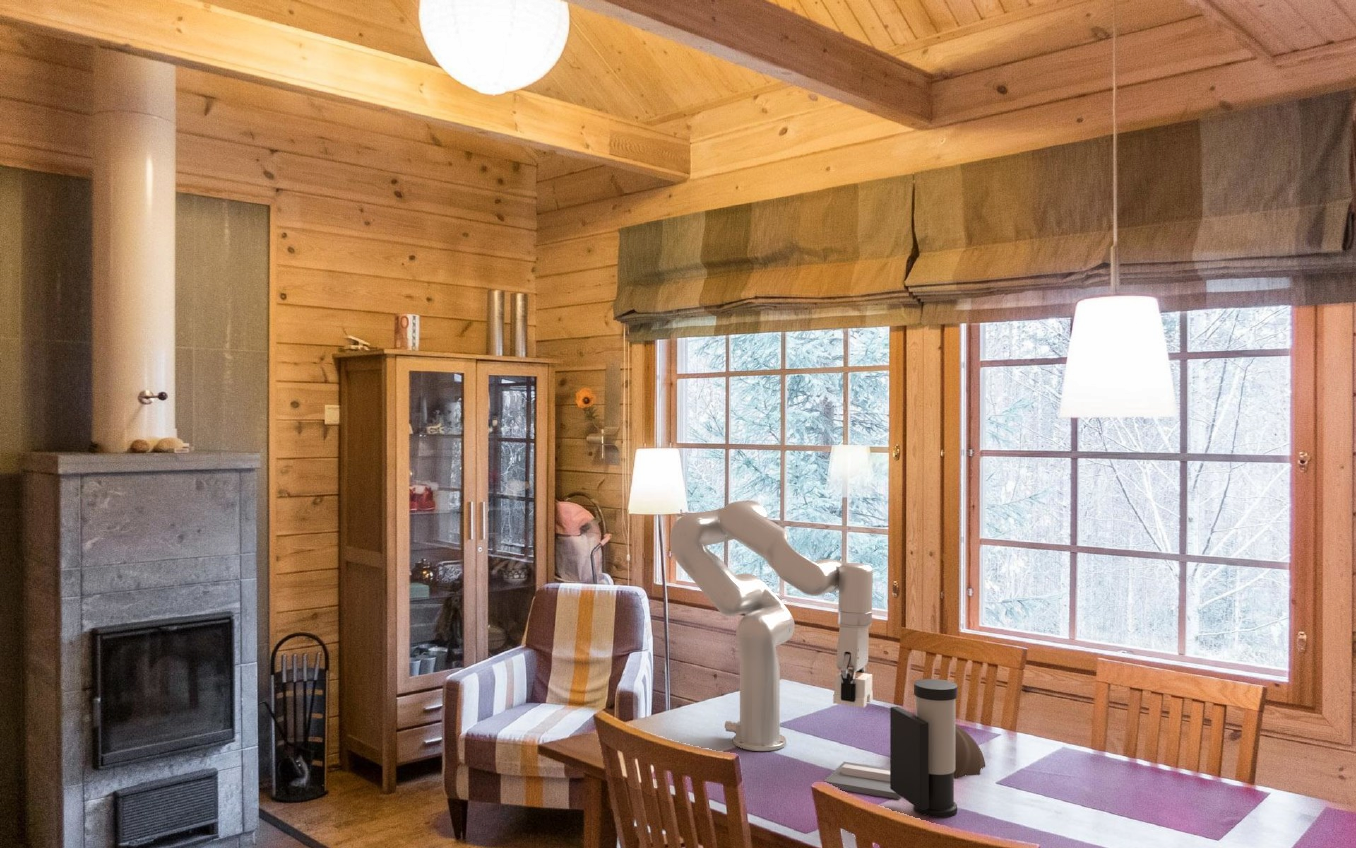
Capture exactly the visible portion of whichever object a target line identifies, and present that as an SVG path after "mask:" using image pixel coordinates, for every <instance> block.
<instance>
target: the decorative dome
mask: <svg viewBox="0 0 1356 848" xmlns="http://www.w3.org/2000/svg"><path fill="white" fill-rule="evenodd" d="M985 766H986V762H985V757H984V755H983V752H982V750H981V748H980V746H979V745H978V743H977V742H976V741H975V739H974V738H973V737H972V736H971V735H970V734H969V733H968V732H967V731H966V730H965V729H964V728H962V727H961V726H959V725H958V724H956V723H955V771H954V779H960V778H963V777H965V775H966V776H979V775H981V770H982V769H983V768H982V767H984V768H986V767H985ZM981 768H982V769H981ZM959 777H960V778H959Z"/></svg>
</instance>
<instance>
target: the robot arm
mask: <svg viewBox="0 0 1356 848" xmlns="http://www.w3.org/2000/svg"><path fill="white" fill-rule="evenodd" d="M732 540H735V541H737V542H738V543H740V544H741V545H743V546H745V548H747V549H749V550H751V551H752V552H754V553H755V554H756V555H758V556H760V557H761V558H763V559H764V560H765V561H766V562H767V565H768V566H769V567H770V568H771V569H772V571H773V572H774V573H775V574H776V575H777V576H778V578H780V579H781V580H783V581H784V582H786V583H787V584H788V585H790V586H792V587H793V588H795V589H796V590H798V591H799V592H802V593H803V594H805V595H808V596H812V597H818V596H822V595H823V594H829V593H831V592H836V591H838V607H837V608H838V610H837V613H838V615H837V624H838V626H839V631H838V637H837V650H836V651H837V652H836V663H835V664H836V665H835V666H836V669H837V670H839V671H840V672H841V700H843V701H850V702H854V701H855V693H856V684H854V680H855V674H856V672H859V673H866V674H867V669H866V666H867V664H868V662H869V655H870V654H869V651H870V648H869V646H870V645H869V643H870V639H869V635H870V634H869V628H870V627H872V625H873V619H872V618H873V586H874V585H873V583H874V582H873V581H874V578H873V577H874V574H873V573H874V572H873V568H872V566H870V565H869V564H867V563H862V562H861V563H860V562H845V561H842V560H839V559H833V558H824V559H819V560H816V561H812V560H810V559H809V558H808V557H806V556H804V555H802V554H800V553H799V552H798V551H796V550H795V549H794V548H793V547H792V546H791V545H790V544H789V541H788V533H787V530H786V529H785V528H783V527H782V526H780V525H779V524H777V523H776V522H774V521H772V520H771V519H769V518H768V513H767V510H766V508H765V507H764V506H763V505H762V504H761V503H759V502H757V501H756V500H752V499H751V500H749V499H748V500H739V501H734V502H730V503H728V504H727V505H725V506H724V507H721V508H717V509H713V510H706V511H700V512H699V511H698V512H692V513H688V514H685V515H682V516H680V517H679V518H678V519H677V520H676V521H675V522H674V523H673V526H672V528H671V531H670V536H669V541H670V542H669V545H670V549H671V553H672V555H673V557H674V559H675V560H676V562H677V564H678V565H679V566H680V568H681V569H682V570H683V571H684V572H685V574H687V575H688V576H689V577H690V579H691V580H693V582H694V583H695V584H696V586H698V588H699V589H700V590H701V591H702V593H703V594H704V595H705V596H706V597H707V599H708V600H709V601H710V603H712V605H713V606H714V607H715V608H716V609H717V610H718V611H719V612H720V614H722V615H723V616H725V617H736V616H739V615H743V614H744V616H743V617H742V618H741V619H740V620H739V622H738V625H737V627H736V632H735V633H736V634H735V635H736V637H735V638H736V643H737V650H738V656H739V657H738V659H739V660H738V661H739V721H737V722H734V721H731V720H726V721H725V722H724V728H725V731H726V732H728V733H729V732H730V733H734V734H735V735H733V737H732V739H733V740H732V741H733V744H734V745H735V746H736V747H737V746H738V748H739V747H740V749H742V748H743V750H747V751H754V752H755V751H756V752H769V751H770V752H771V751H776V750H779V749H782V748H784V747H785V746H787V745H786V744H787V738H786V736H784V735H782V734H780V733H781V732H780V726H781V725H780V724H781V721H780V719H781V717H780V716H781V715H780V713H781V711H780V710H781V709H780V707H781V703H780V702H781V701H780V698H781V697H780V696H781V695H780V693H781V691H780V686H781V683H780V681H781V679H780V678H781V677H780V675H781V673H780V670H781V669H780V662H779V656H778V652H777V647H778V646H780V645H782V644H784V643H786V642H788V641H789V640H790V639H791V638H792V636H793V634H794V632H795V629H796V627H795V626H796V625H795V619H794V618H793V615H792V613H791V612H790V610H789V609H788V608H787V606H785V604H784V603H783V602H782V601H781V600H780V599H779V597H778V596H777V595H776V594H775V593H774V592H773V591H772V589H770V588H769V586H768V585H767V584H766V583H765V582H764V581H763V580H762V579H761V578H759V577H757V576H756V575H753V574H752V573H746V572H745V573H739V574H735V573H734V572H732V570H731V569H730V568H729V567H728V566H727V565H726V564H725V563H724V562H723V561H722V559H721V558H720V557H718V556H717V555H716V553H713V552H712V551H710V550H709V549H708V548H707V547H706V546H711V545H716V544H719V543H724V542H728V541H732ZM850 673H852V675H850Z"/></svg>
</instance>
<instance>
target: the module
mask: <svg viewBox="0 0 1356 848" xmlns="http://www.w3.org/2000/svg"><path fill="white" fill-rule="evenodd" d="M850 675H852V673H850ZM854 684H856V693H855V701H854V702H850V701H843V700H841V671H840V672H839V673H836V674H835V675H834V686H833V687H834V688H833V689H834V692H833V696H832V697H833V698H832V703H833V704H837V705H841V706H849V707H855V708H856V707H857V708H861V709H862V708H865V707H866V706H867V703H871V702H872V701H873V700H874V699H873V698H874V697H873V696H874V695H873V693H874V692H873V674H872V673H867V672H866V673H859V672H856V674H855V680H854Z"/></svg>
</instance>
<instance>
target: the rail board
mask: <svg viewBox="0 0 1356 848" xmlns="http://www.w3.org/2000/svg"><path fill="white" fill-rule="evenodd" d="M824 782H827V783H829V784H832V785H833V786H835V787H838V788H840V789H842V790H841V791H847V792H854V793H857V794H858V793H859V794H864V795H871V796H877V797H883V798H888V799H895V800H900V799H901V798H902V797H901V796H900V795H898V794H897V793H896V792H894V791H893V790H891V789H890V767H889V768H888V767H881V766H876V765H875V766H874V765H868V764H864V763H863V764H862V763H855V762H850V761H843V762H842V763H841V764H840V765H839V766H838V767H837V768H836V769H835V770H833V772H832V773H831V774H830V775H828V777H826V778H825V779H824V780H823V783H824ZM840 789H839V790H840Z"/></svg>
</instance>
